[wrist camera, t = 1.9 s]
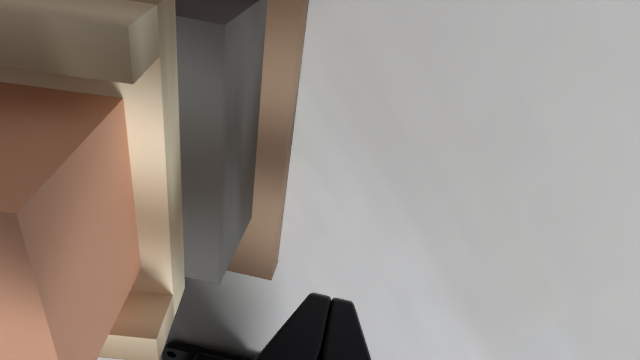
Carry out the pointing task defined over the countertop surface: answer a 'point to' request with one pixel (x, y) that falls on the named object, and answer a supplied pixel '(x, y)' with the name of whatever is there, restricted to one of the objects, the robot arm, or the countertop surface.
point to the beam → (141, 122)
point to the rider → (63, 222)
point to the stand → (236, 129)
